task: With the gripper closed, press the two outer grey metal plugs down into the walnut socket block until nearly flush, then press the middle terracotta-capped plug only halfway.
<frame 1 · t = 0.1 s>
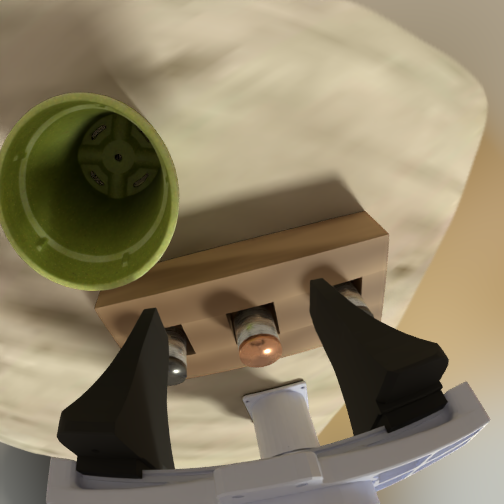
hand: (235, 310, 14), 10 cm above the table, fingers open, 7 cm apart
plug mid: (256, 336, 22), point 5 cm above the table, slide at 0.0 cm
plug 1: (346, 310, 22), point 5 cm above the table, slide at 0.0 cm
socket block: (246, 292, 27), on the table
plug 2: (167, 355, 22), point 5 cm above the table, slide at 0.0 cm
plant pot: (119, 153, 19), on the table
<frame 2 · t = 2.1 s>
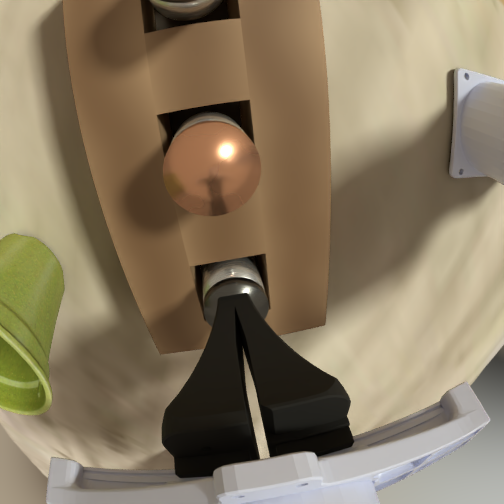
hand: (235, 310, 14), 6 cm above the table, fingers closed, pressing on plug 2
plug mid: (210, 157, 11), point 5 cm above the table, slide at 0.0 cm
socket block: (207, 133, 15), on the table
plug 2: (232, 287, 16), point 4 cm above the table, slide at 1.4 cm, touching gripper
plant pot: (29, 269, 17), on the table
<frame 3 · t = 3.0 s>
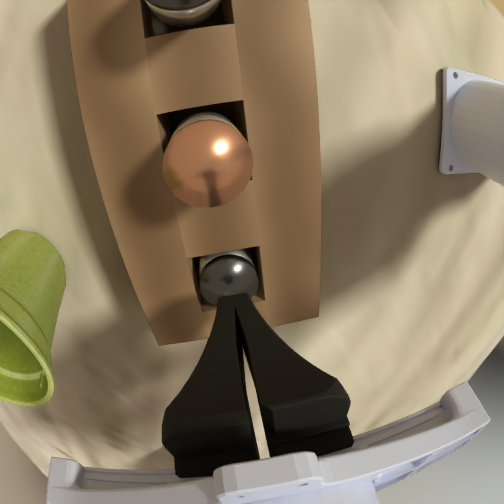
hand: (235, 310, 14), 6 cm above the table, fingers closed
plug mid: (206, 153, 11), point 5 cm above the table, slide at 0.0 cm
socket block: (204, 132, 16), on the table
plug 2: (226, 265, 17), point 3 cm above the table, slide at 2.6 cm
plant pot: (32, 264, 18), on the table
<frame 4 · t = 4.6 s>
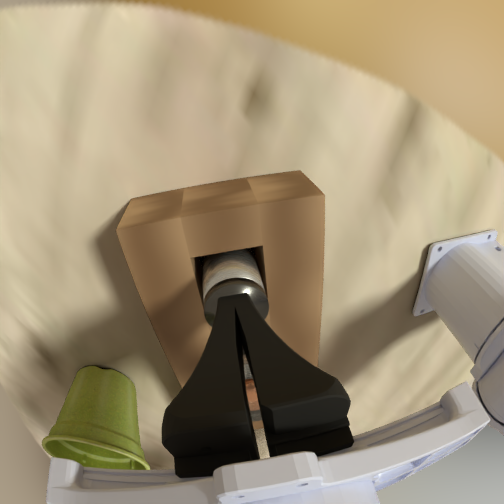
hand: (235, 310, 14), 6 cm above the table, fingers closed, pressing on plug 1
plug mid: (249, 376, 19), point 5 cm above the table, slide at 0.0 cm
plug 1: (232, 287, 16), point 5 cm above the table, slide at 0.6 cm, touching gripper
socket block: (239, 321, 23), on the table
plug 2: (253, 396, 25), point 3 cm above the table, slide at 2.6 cm
plant pot: (105, 381, 26), on the table
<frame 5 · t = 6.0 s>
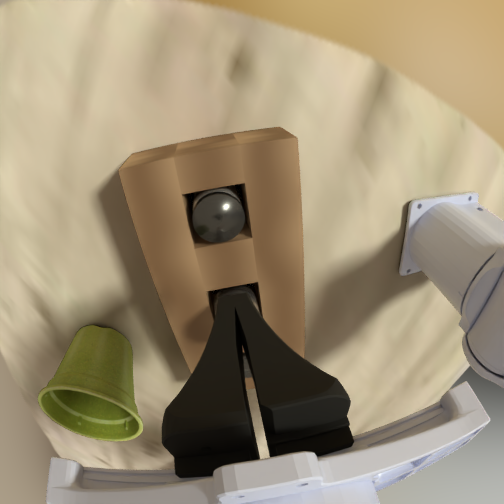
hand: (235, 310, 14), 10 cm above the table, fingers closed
plug mid: (237, 317, 21), point 5 cm above the table, slide at 0.0 cm
plug 1: (216, 207, 19), point 3 cm above the table, slide at 2.6 cm
socket block: (229, 273, 25), on the table
plug 2: (245, 352, 27), point 3 cm above the table, slide at 2.6 cm
plant pot: (103, 343, 27), on the table
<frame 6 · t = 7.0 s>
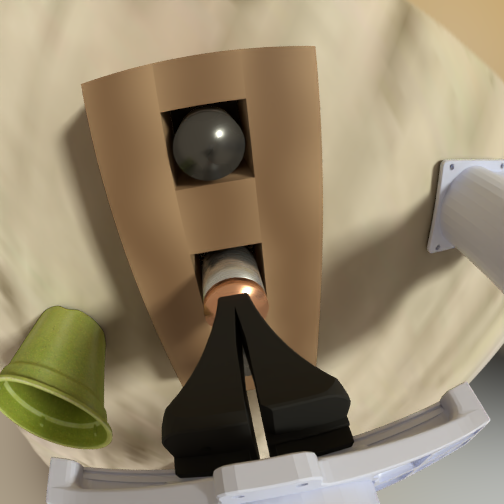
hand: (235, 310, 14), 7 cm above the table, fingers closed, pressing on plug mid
plug mid: (232, 287, 16), point 5 cm above the table, slide at 0.4 cm, touching gripper
plug 1: (208, 139, 14), point 3 cm above the table, slide at 2.6 cm
socket block: (224, 240, 20), on the table
plug 2: (243, 343, 21), point 3 cm above the table, slide at 2.6 cm
plant pot: (72, 330, 22), on the table
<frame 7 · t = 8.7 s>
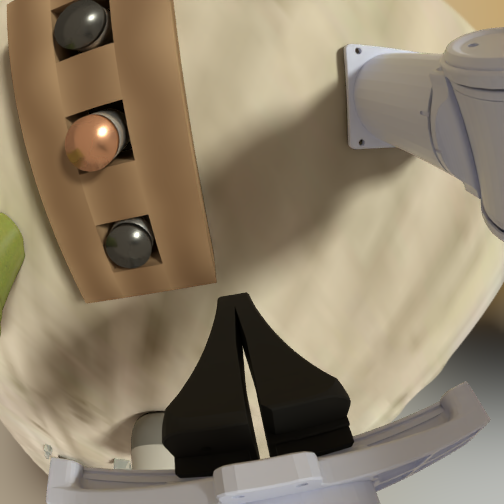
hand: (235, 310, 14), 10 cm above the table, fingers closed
plug mid: (100, 137, 15), point 4 cm above the table, slide at 1.4 cm
plug 1: (88, 28, 12), point 3 cm above the table, slide at 2.6 cm
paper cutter: (101, 479, 54), on the table
socket block: (116, 127, 18), on the table
plug 2: (132, 234, 20), point 3 cm above the table, slide at 2.6 cm
plant pot: (0, 240, 20), on the table
smart speaker: (165, 420, 38), on the table
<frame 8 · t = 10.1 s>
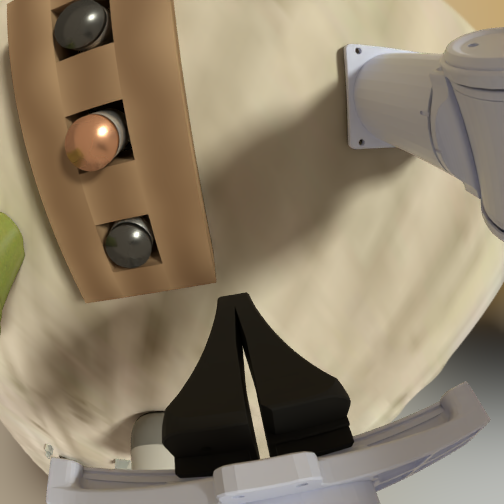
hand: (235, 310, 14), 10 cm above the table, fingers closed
plug mid: (99, 137, 15), point 4 cm above the table, slide at 1.4 cm
plug 1: (88, 27, 12), point 3 cm above the table, slide at 2.6 cm
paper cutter: (102, 479, 54), on the table
socket block: (116, 126, 18), on the table
plug 2: (132, 234, 20), point 3 cm above the table, slide at 2.6 cm
plant pot: (0, 239, 20), on the table
smart speaker: (165, 420, 38), on the table
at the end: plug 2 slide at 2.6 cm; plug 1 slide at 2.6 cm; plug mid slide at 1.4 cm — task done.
